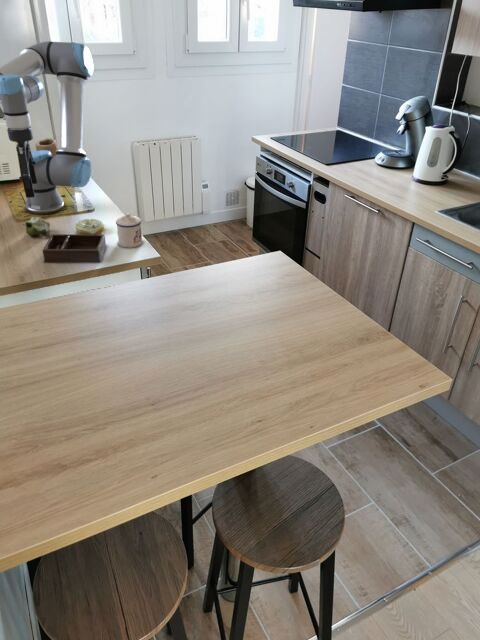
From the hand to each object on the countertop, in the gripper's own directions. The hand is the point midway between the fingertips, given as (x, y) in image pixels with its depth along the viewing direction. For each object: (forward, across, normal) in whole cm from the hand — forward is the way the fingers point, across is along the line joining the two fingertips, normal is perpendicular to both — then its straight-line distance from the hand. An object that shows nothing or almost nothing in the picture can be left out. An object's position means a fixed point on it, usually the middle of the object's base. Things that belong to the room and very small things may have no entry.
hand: (31, 190), depth 180 cm
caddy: (+20, +12, +12) cm, 26 cm away
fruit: (+20, -8, -2) cm, 22 cm away
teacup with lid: (+20, +5, +32) cm, 39 cm away
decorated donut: (+20, -7, +17) cm, 28 cm away
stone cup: (+21, -87, +1) cm, 90 cm away
